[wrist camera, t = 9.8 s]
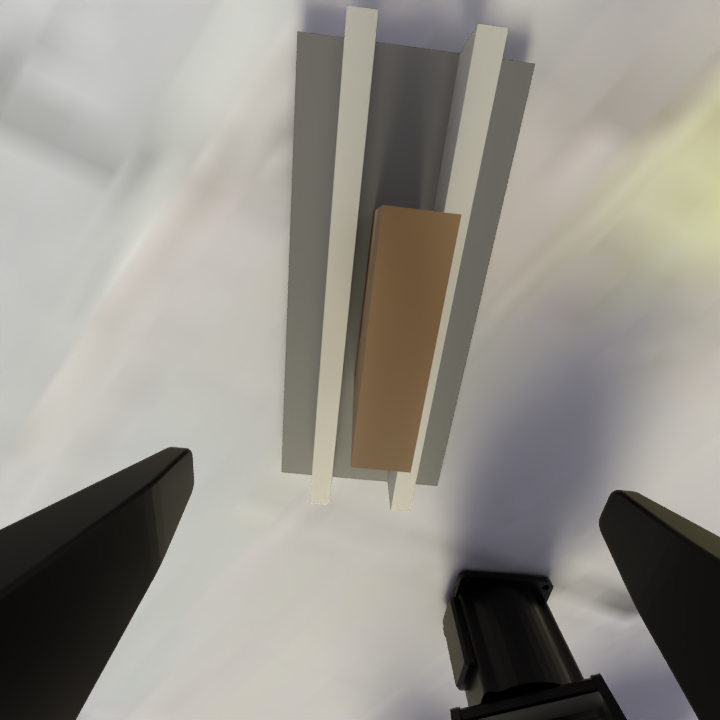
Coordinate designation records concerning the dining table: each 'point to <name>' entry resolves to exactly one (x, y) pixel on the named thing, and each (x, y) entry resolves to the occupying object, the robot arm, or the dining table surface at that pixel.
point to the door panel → (399, 332)
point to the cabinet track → (355, 212)
